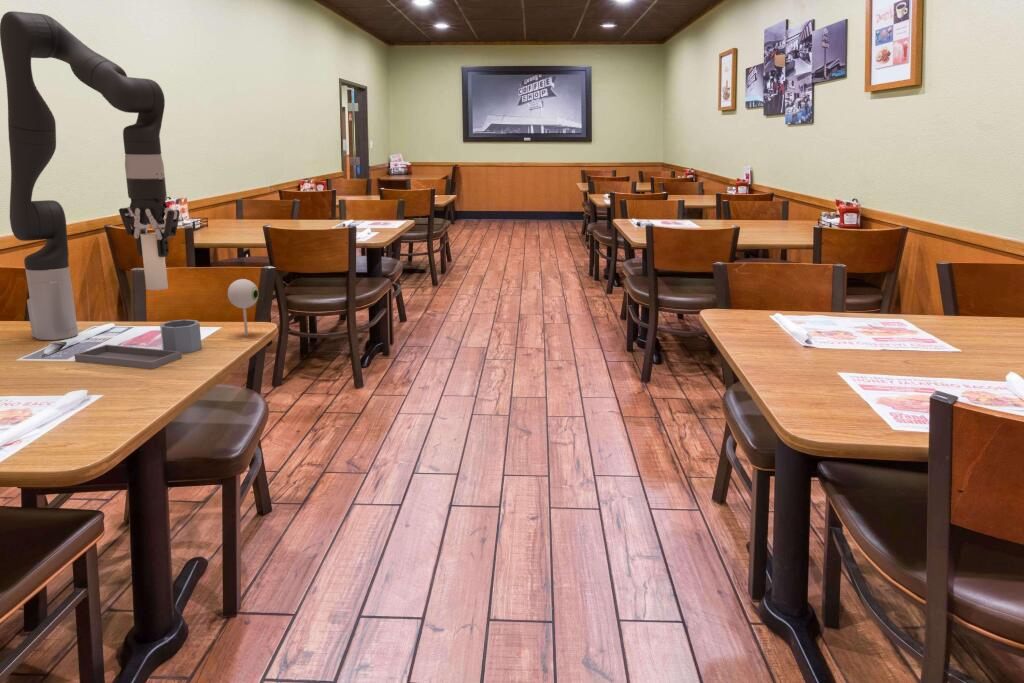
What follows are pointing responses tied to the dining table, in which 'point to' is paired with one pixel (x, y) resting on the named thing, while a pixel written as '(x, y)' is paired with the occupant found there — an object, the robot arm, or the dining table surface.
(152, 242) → the peg
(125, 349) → the tray
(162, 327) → the grey octagonal collar
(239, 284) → the lollipop
